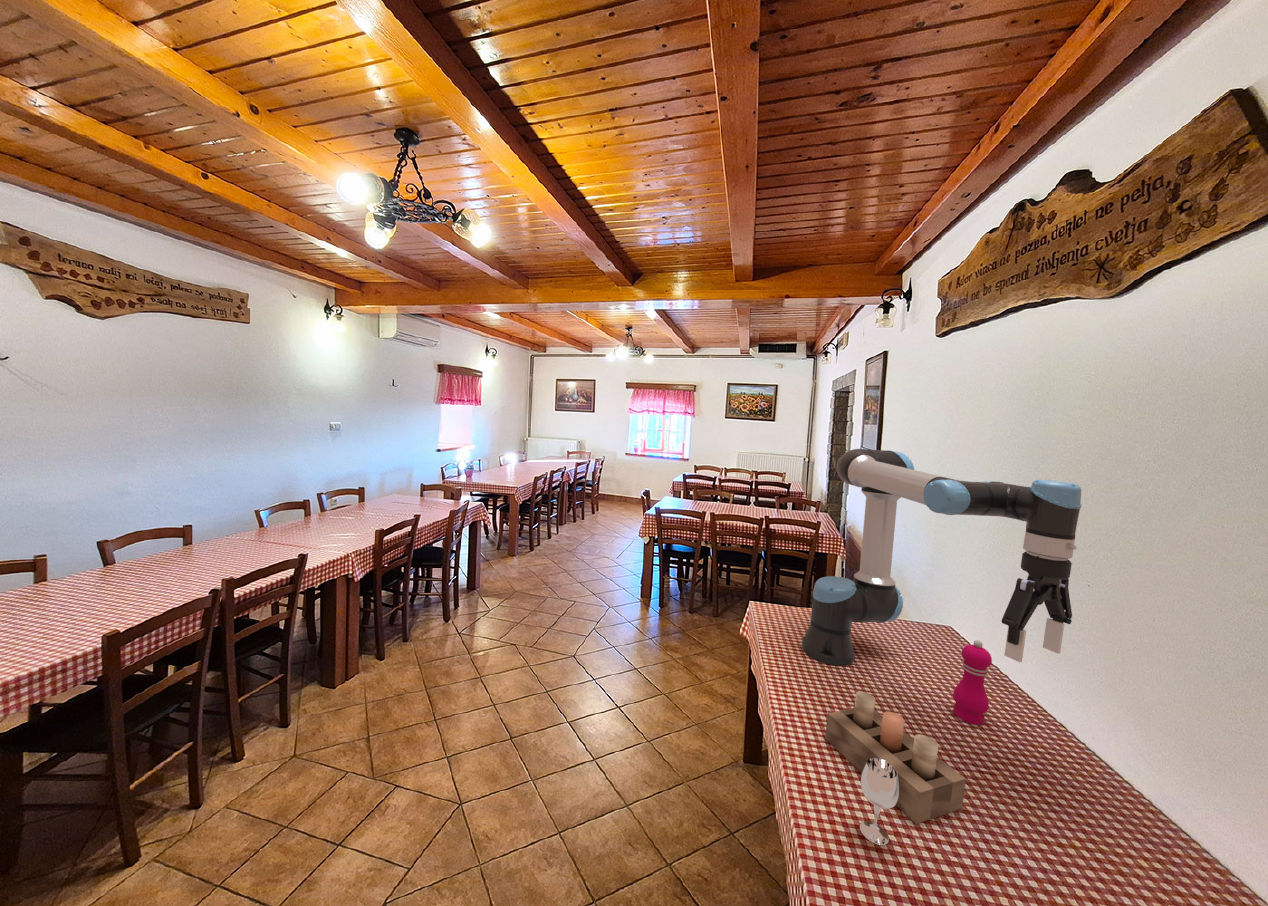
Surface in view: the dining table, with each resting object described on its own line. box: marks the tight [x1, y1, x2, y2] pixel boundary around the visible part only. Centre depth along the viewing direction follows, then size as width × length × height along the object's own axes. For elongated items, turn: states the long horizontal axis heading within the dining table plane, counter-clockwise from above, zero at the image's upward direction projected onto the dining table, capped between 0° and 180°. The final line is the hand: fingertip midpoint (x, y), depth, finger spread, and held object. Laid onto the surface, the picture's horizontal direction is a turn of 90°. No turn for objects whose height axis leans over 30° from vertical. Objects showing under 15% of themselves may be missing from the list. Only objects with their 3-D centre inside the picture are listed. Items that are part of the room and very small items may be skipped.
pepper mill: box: [952, 639, 993, 726], centre depth 111 cm, size 7×7×20 cm
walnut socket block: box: [824, 707, 967, 825], centre depth 92 cm, size 22×12×6 cm, turn 20°
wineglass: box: [859, 758, 899, 846], centre depth 77 cm, size 6×6×12 cm
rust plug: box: [880, 711, 906, 752], centre depth 91 cm, size 4×4×6 cm
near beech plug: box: [911, 734, 939, 779], centre depth 85 cm, size 4×4×6 cm
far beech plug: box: [853, 691, 876, 729], centre depth 98 cm, size 4×4×6 cm
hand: (1032, 654), depth 93 cm, fingers open, 13 cm apart
